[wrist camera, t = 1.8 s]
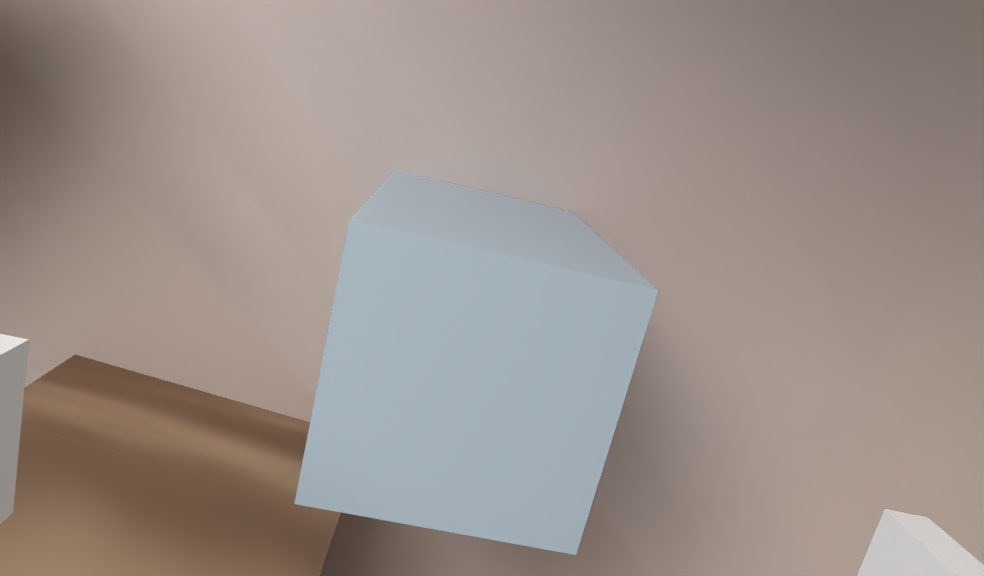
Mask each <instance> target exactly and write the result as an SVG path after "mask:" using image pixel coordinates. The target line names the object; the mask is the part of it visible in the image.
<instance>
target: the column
mask: <svg viewBox="0 0 984 576" xmlns="http://www.w3.org/2000/svg"><path fill="white" fill-rule="evenodd" d="M658 291H659V290H658V289H657V288H656V287H654V286H653V285H652V284H651V283H650V282H649V281H648V280H647V279H646V278H645V277H644V276H642V275H641V274H640V273H639V272H638V271H637V270H636V269H635V268H634V267H633V266H632V265H630V264H629V263H628V262H627V261H626V260H625V259H624V258H623V257H622V256H621V255H620V254H618V253H617V252H616V251H615V250H614V249H613V248H612V247H611V246H610V245H609V244H608V243H606V242H605V241H604V240H603V239H602V238H601V237H600V236H599V235H598V234H597V233H596V232H594V231H593V230H592V229H591V228H590V227H589V226H588V225H587V224H586V223H585V222H584V221H582V220H581V219H580V218H579V217H578V216H577V215H576V214H575V213H574V212H571V211H566V210H562V209H558V208H554V207H550V206H545V205H541V204H537V203H533V202H529V201H524V200H520V199H516V198H512V197H508V196H503V195H499V194H495V193H491V192H487V191H482V190H478V189H474V188H470V187H466V186H461V185H457V184H453V183H449V182H445V181H440V180H436V179H432V178H428V177H424V176H419V175H415V174H411V173H407V172H403V171H398V170H394V172H393V173H392V174H391V175H390V176H389V177H388V178H387V179H386V180H385V181H384V183H383V184H382V185H381V186H380V187H379V188H378V189H377V190H376V191H375V192H374V194H373V195H372V196H371V197H370V198H369V199H368V200H367V201H366V202H365V203H364V204H363V206H362V207H361V208H360V209H359V210H358V211H357V212H356V213H355V214H354V215H353V217H352V218H351V219H350V220H349V225H348V231H347V236H346V241H345V246H344V251H343V256H342V261H341V267H340V272H339V277H338V282H337V287H336V292H335V297H334V303H333V308H332V313H331V318H330V323H329V328H328V333H327V339H326V344H325V349H324V354H323V359H322V364H321V369H320V375H319V380H318V385H317V390H316V395H315V400H314V405H313V411H312V416H311V421H310V426H309V431H308V436H307V441H306V447H305V452H304V457H303V462H302V467H301V472H300V477H299V483H298V488H297V493H296V498H295V503H294V504H297V505H303V506H308V507H314V508H319V509H325V510H330V511H336V512H341V513H347V514H352V515H358V516H363V517H369V518H374V519H380V520H385V521H391V522H396V523H402V524H407V525H413V526H418V527H424V528H429V529H435V530H440V531H446V532H451V533H457V534H462V535H468V536H473V537H479V538H484V539H490V540H495V541H501V542H506V543H512V544H517V545H523V546H528V547H534V548H539V549H545V550H550V551H556V552H561V553H567V554H572V555H576V554H577V551H578V547H579V544H580V541H581V538H582V535H583V531H584V528H585V525H586V522H587V519H588V515H589V512H590V509H591V506H592V502H593V499H594V496H595V493H596V490H597V486H598V483H599V480H600V477H601V474H602V470H603V467H604V464H605V461H606V458H607V454H608V451H609V448H610V445H611V442H612V438H613V435H614V432H615V429H616V426H617V422H618V419H619V416H620V413H621V410H622V406H623V403H624V400H625V397H626V394H627V390H628V387H629V384H630V381H631V377H632V374H633V371H634V368H635V365H636V361H637V358H638V355H639V352H640V349H641V345H642V342H643V339H644V336H645V333H646V329H647V326H648V323H649V320H650V317H651V313H652V310H653V307H654V304H655V301H656V297H657V294H658Z"/></svg>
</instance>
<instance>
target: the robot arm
mask: <svg viewBox="0 0 984 576" xmlns="http://www.w3.org/2000/svg"><path fill="white" fill-rule="evenodd" d="M28 343H29V340H28V339H23V338H18V337H13V336H8V335H3V334H0V524H1V523H2V522H3V521H4V520H5V519H7V518H8V517H9V516H10V515H11V514H12V513H13V508H14V497H15V486H16V475H17V464H18V453H19V442H20V431H21V420H22V409H23V398H24V387H25V376H26V365H27V354H28ZM857 576H984V565H983V564H982V563H981V562H980V561H978V560H977V559H976V558H975V557H974V556H973V555H971V554H970V553H969V552H968V551H967V550H965V549H964V548H963V547H962V546H961V545H960V544H958V543H957V542H956V541H955V540H954V539H953V538H951V537H950V536H949V535H948V534H947V533H945V532H944V531H943V530H942V529H941V528H940V527H938V526H937V525H936V524H935V523H934V522H933V521H931V520H930V519H929V518H928V517H923V516H918V515H913V514H908V513H903V512H898V511H893V510H888V509H885V510H884V512H883V515H882V517H881V519H880V522H879V524H878V527H877V529H876V531H875V534H874V536H873V539H872V541H871V543H870V546H869V548H868V551H867V553H866V555H865V558H864V560H863V563H862V565H861V567H860V570H859V572H858V575H857Z"/></svg>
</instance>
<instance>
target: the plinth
mask: <svg viewBox="0 0 984 576" xmlns="http://www.w3.org/2000/svg"><path fill="white" fill-rule="evenodd" d="M309 426H310V422H306V421H303V420H299V419H296V418H292V417H289V416H286V415H282V414H279V413H275V412H272V411H268V410H265V409H261V408H258V407H254V406H251V405H247V404H244V403H241V402H237V401H234V400H230V399H227V398H223V397H220V396H216V395H213V394H209V393H206V392H202V391H199V390H195V389H192V388H189V387H185V386H182V385H178V384H175V383H171V382H168V381H164V380H161V379H157V378H154V377H150V376H147V375H144V374H140V373H137V372H133V371H130V370H126V369H123V368H119V367H116V366H112V365H109V364H105V363H102V362H99V361H95V360H92V359H88V358H85V357H81V356H78V355H74V356H72V357H71V358H69V359H68V360H66V361H65V362H63V363H62V364H60V365H59V366H57V367H56V368H54V369H53V370H51V371H50V372H48V373H47V374H45V375H44V376H42V377H41V378H39V379H38V380H36V381H35V382H33V383H32V384H30V385H29V386H27V387H26V388H24V398H23V409H22V420H21V431H20V442H19V453H18V464H17V475H16V486H15V497H14V508H13V513H12V514H11V515H10V516H9V517H8V518H7V519H5V520H4V521H3V522H2V523H1V524H0V576H320V574H321V571H322V568H323V565H324V562H325V559H326V556H327V553H328V550H329V547H330V544H331V541H332V538H333V535H334V532H335V529H336V526H337V523H338V520H339V517H340V514H341V512H336V511H330V510H325V509H319V508H314V507H308V506H303V505H297V504H294V503H295V498H296V493H297V488H298V483H299V477H300V472H301V467H302V462H303V457H304V452H305V447H306V441H307V436H308V431H309Z"/></svg>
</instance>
